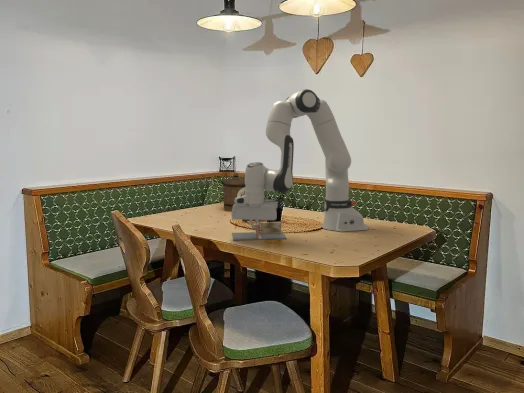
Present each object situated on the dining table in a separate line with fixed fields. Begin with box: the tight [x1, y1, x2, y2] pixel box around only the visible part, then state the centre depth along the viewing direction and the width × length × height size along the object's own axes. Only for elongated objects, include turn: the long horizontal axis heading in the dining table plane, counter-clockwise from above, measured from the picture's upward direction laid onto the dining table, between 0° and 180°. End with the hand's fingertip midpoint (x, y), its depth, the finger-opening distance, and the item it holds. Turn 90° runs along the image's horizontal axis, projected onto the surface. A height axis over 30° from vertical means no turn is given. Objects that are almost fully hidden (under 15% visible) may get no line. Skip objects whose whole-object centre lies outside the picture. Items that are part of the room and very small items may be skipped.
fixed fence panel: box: [259, 220, 282, 233], centre depth 223 cm, size 12×2×6 cm, turn 96°
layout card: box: [231, 230, 287, 241], centre depth 219 cm, size 24×13×1 cm, turn 96°
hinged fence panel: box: [255, 222, 259, 238], centre depth 217 cm, size 10×1×5 cm, turn 0°
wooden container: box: [223, 172, 246, 213], centre depth 285 cm, size 15×15×22 cm
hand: (254, 229), depth 215 cm, fingers closed
